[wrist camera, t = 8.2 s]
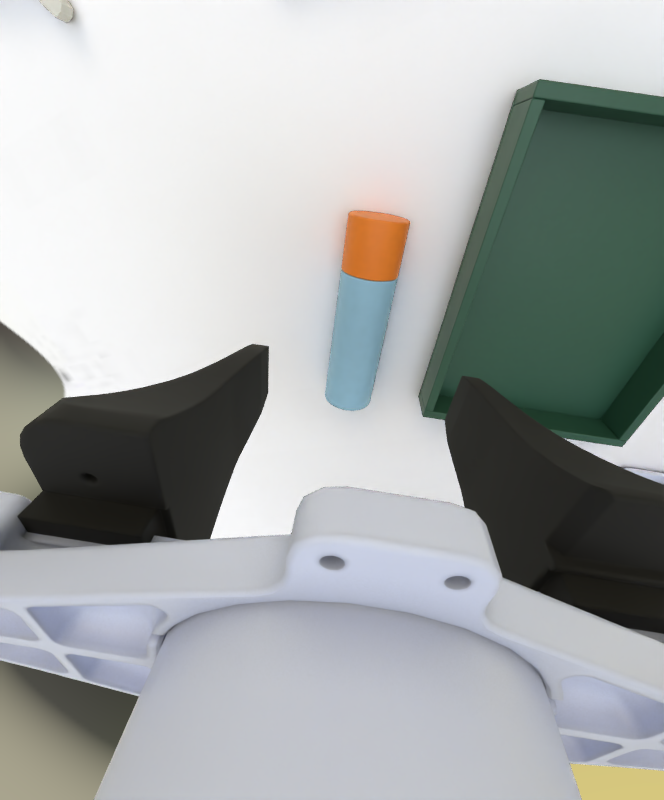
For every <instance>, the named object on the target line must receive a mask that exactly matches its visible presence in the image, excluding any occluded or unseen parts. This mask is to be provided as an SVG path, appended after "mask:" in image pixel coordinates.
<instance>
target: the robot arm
mask: <svg viewBox="0 0 664 800" xmlns="http://www.w3.org/2000/svg"><path fill="white" fill-rule="evenodd" d="M268 361H269V346H263V345H256V344H251V345H249V346H247V347H245V348H243V349H241V350H239V351H237V352H235V353H233V354H231V355H229V356H228V357H226V358H224V359H222V360H220V361H218V362H216V363H213V364H211V365H209V366H207V367H205V368H203V369H200V370H198V371H196V372H193V373H191V374H188V375H185V376H182V377H179V378H176V379H173V380H170V381H167V382H163V383H159V384H155V385H151V386H147V387H143V388H138V389H133V390H128V391H122V392H115V393H108V394H101V395H90V396H80V397H68V398H62V399H61V400H59V401H58V402H57V403H56V404H54V405H53V406H52V407H50V408H49V409H48V410H46V411H45V412H44V413H42V414H41V415H40V416H39V417H37V418H36V419H34V420H33V421H32V422H30V423H29V424H28V425H26V426H25V427H24V429H23V431H22V433H21V434H20V446H21V449H22V452H23V455H24V457H25V459H26V461H27V463H28V465H29V466H30V468H31V470H32V472H33V474H34V475H35V477H36V479H37V481H38V483H39V485H40V486H41V488H42V490H43V491H42V492H41V493H40V495H38V496H37V497H36V498H35V499H34V500H33V501H32V502H31V500H29V499H28V498H26V497H24V496H22V495H18V494H14V493H7V492H1V491H0V660H2V661H6V662H10V663H14V664H18V665H22V666H26V667H30V668H34V669H38V670H42V671H46V672H50V673H53V674H57V675H61V676H65V677H69V678H72V679H76V680H80V681H84V682H87V683H91V684H95V685H99V686H102V687H106V688H110V689H114V690H117V691H121V692H125V693H129V694H133V695H136V696H139V698H138V700H137V703H136V705H135V707H134V709H133V712H132V714H131V716H130V719H129V721H128V723H127V725H126V727H125V730H124V732H123V734H122V737H121V739H120V741H119V743H118V746H117V748H116V750H115V753H114V755H113V757H112V760H111V762H110V764H109V766H108V768H107V771H106V773H105V775H104V778H103V780H102V782H101V784H100V787H99V789H98V791H97V793H96V796H95V798H94V800H582V799H581V796H580V793H579V790H578V787H577V784H576V781H575V778H574V774H573V771H572V768H571V765H570V763H572V764H585V765H598V766H613V767H625V768H638V769H649V770H660V771H664V473H660V472H653V471H647V470H640V469H634V468H621V467H619V466H616V465H614V464H612V463H610V462H608V461H605V460H603V459H601V458H599V457H597V456H595V455H593V454H591V453H589V452H587V451H585V450H583V449H581V448H579V447H578V446H576V445H574V444H572V443H570V442H569V441H567V440H565V439H564V438H562V437H560V436H559V435H557V434H555V433H554V432H552V431H550V430H549V429H547V428H546V427H544V426H543V425H541V424H540V423H538V422H537V421H535V420H534V419H533V418H531V417H530V416H528V415H527V414H526V413H524V412H523V411H522V410H520V409H519V408H518V407H516V406H515V405H514V404H513V403H511V402H510V401H509V400H507V399H506V398H505V397H504V396H502V395H501V394H500V393H499V392H497V391H496V390H495V389H494V388H492V387H491V386H490V385H488V384H487V383H486V382H484V381H483V380H481V379H479V378H475V377H468V376H462V377H461V379H460V382H459V384H458V387H457V390H456V392H455V395H454V397H453V400H452V402H451V405H450V408H449V410H448V413H447V415H446V418H445V425H446V435H447V442H448V446H449V449H450V453H451V457H452V460H453V464H454V467H455V471H456V474H457V478H458V481H459V485H460V488H461V492H462V496H463V501H464V506H465V508H464V507H461V506H459V505H456V504H453V503H449V502H443V501H436V500H430V499H423V498H417V497H411V496H404V495H398V494H391V493H385V492H379V491H372V490H366V489H359V488H353V487H323V488H321V489H319V490H317V491H315V492H312V493H310V494H308V495H306V496H304V497H303V499H302V501H301V503H300V505H299V507H298V508H297V510H296V515H295V519H294V524H293V529H292V533H291V534H289V535H272V536H255V537H238V538H221V539H210V537H211V534H212V531H213V528H214V525H215V522H216V519H217V516H218V513H219V510H220V507H221V504H222V501H223V498H224V495H225V492H226V489H227V487H228V484H229V481H230V478H231V476H232V473H233V470H234V468H235V465H236V463H237V461H238V458H239V456H240V454H241V452H242V450H243V448H244V446H245V444H246V442H247V440H248V439H249V437H250V435H251V433H252V431H253V429H254V427H255V425H256V423H257V421H258V419H259V417H260V415H261V412H262V410H263V407H264V404H265V401H266V397H267V394H268Z"/></svg>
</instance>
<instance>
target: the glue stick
mask: <svg viewBox="0 0 664 800" xmlns="http://www.w3.org/2000/svg"><path fill="white" fill-rule="evenodd" d="M409 225H410V221H409V220H407V219H405V218H402V217H398V216H394V215H389V214H384V213H377V212H369V211H351V212H349V214H348V222H347V229H346V237H345V245H344V252H343V260H342V270H341V275H340V283H339V291H338V298H337V306H336V314H335V322H334V329H333V337H332V345H331V352H330V360H329V368H328V375H327V383H326V391H325V397H326V399H327V401H328V402H329V403H330V404H332V405H333V406H335V407H337V408H340V409H343V410H350V411H354V410H360V409H363V408H365V407H366V406H367V405H368V404H369V403H370V399H371V394H372V390H373V386H374V381H375V377H376V372H377V368H378V363H379V359H380V354H381V350H382V346H383V341H384V337H385V332H386V328H387V323H388V319H389V314H390V310H391V306H392V301H393V297H394V292H395V288H396V283H397V277H398V274H399V270H400V265H401V261H402V257H403V252H404V248H405V243H406V239H407V234H408V230H409Z"/></svg>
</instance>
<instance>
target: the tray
mask: <svg viewBox="0 0 664 800" xmlns="http://www.w3.org/2000/svg"><path fill="white" fill-rule="evenodd" d="M462 376H468V377H475V378H479V379H481V380H483V381H484V382H486V383H487V384H488V385H490V386H491V387H492V388H494V389H495V390H496V391H497V392H499V393H500V394H501V395H502V396H504V397H505V398H506V399H507V400H509V401H510V402H511V403H513V404H514V405H515V406H516V407H518V408H519V409H520V410H522V411H523V412H524V413H526V414H527V415H528V416H530V417H531V418H533V419H534V420H535V421H537V422H538V423H540V424H541V425H543V426H544V427H546V428H547V429H549V430H550V431H552V432H554V433H555V434H557V435H559V436H560V437H562V438H566V439H573V440H579V441H586V442H593V443H599V444H606V445H612V446H619V447H622V446H623V445H624V444H625V443H626V441H627V440H628V439H629V438H630V437H631V436H632V434H633V433H634V432H635V431H636V429H637V428H638V427H639V426H640V425H641V423H642V422H643V421H644V420H645V419H646V417H647V416H648V415H649V414H650V412H651V411H652V410H653V409H654V408H655V406H656V405H657V404H658V403H659V402H660V400H661V399H662V398H663V397H664V97H660V96H653V95H647V94H640V93H633V92H626V91H619V90H612V89H605V88H598V87H591V86H584V85H577V84H570V83H563V82H556V81H549V80H542V79H539V80H537V81H535V82H533V83H531V84H529V85H527V86H525V87H523V88H521V89H518V90H517V92H516V95H515V98H514V101H513V104H512V107H511V110H510V113H509V117H508V120H507V123H506V126H505V129H504V132H503V135H502V138H501V141H500V145H499V148H498V151H497V154H496V157H495V160H494V163H493V166H492V169H491V173H490V176H489V179H488V182H487V185H486V188H485V191H484V194H483V197H482V200H481V204H480V207H479V210H478V213H477V216H476V219H475V222H474V225H473V228H472V232H471V235H470V238H469V241H468V244H467V247H466V250H465V253H464V256H463V260H462V263H461V266H460V269H459V272H458V275H457V278H456V281H455V284H454V288H453V291H452V294H451V297H450V300H449V303H448V306H447V309H446V312H445V316H444V319H443V322H442V325H441V328H440V331H439V334H438V337H437V340H436V344H435V347H434V350H433V353H432V356H431V359H430V362H429V365H428V368H427V371H426V375H425V378H424V381H423V384H422V387H421V390H420V393H419V396H418V397H419V400H420V405H421V410H422V415H423V417H429V418H435V419H442V420H445V418H446V415H447V413H448V410H449V408H450V405H451V402H452V400H453V397H454V395H455V392H456V390H457V387H458V384H459V382H460V379H461V377H462Z"/></svg>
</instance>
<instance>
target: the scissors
mask: <svg viewBox="0 0 664 800" xmlns="http://www.w3.org/2000/svg"><path fill="white" fill-rule="evenodd" d="M39 1H40V3H41V4H42V5H43V6H44V7H45V8H46V9H47V10H48V11H49V12H50V13H51V14H52V15H53V16H54V17H55V18H58V19H60V20H62V21H64V22H66V23H68V22H69V21H70V20H71V19H72V17H73V11H74V9H73V8H72V6H71V4H70V3H69V1H68V0H39Z"/></svg>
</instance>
